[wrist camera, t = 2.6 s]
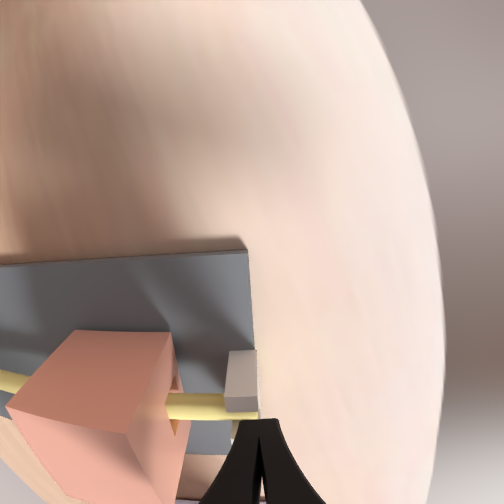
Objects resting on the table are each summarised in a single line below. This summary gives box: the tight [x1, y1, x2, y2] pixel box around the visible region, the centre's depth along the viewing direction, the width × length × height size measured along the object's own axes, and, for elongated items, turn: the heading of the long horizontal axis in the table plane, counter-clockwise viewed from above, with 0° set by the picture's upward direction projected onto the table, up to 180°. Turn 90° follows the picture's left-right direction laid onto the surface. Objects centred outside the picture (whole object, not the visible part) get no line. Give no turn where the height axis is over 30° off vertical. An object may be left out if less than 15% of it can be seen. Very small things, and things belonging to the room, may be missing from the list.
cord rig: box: [0, 249, 261, 455], centre depth 13 cm, size 12×25×4 cm, turn 94°
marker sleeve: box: [5, 330, 191, 504], centre depth 11 cm, size 6×5×6 cm
